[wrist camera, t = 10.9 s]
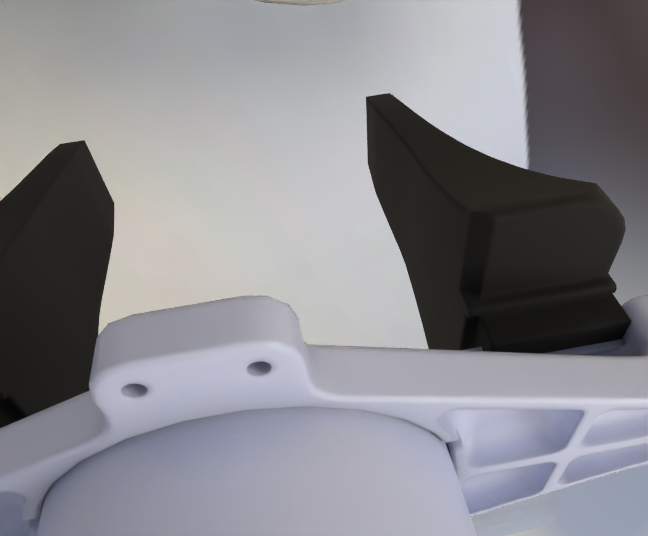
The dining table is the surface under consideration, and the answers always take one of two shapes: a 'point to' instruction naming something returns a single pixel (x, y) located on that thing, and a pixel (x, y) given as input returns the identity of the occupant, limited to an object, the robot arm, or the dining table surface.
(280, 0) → the food container
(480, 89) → the dining table surface
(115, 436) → the robot arm
